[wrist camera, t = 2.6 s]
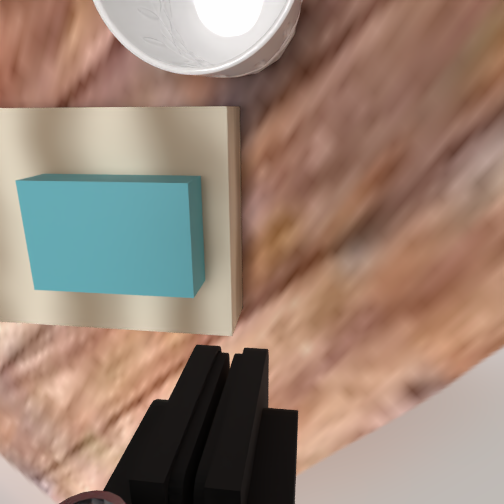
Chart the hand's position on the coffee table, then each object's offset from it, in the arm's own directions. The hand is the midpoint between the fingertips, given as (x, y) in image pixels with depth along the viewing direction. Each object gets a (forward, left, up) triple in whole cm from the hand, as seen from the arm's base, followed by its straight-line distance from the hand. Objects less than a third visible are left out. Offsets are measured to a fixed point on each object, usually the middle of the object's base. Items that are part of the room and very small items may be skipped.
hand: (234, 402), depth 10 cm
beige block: (+12, 0, -18) cm, 22 cm away
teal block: (+9, 0, -14) cm, 17 cm away
